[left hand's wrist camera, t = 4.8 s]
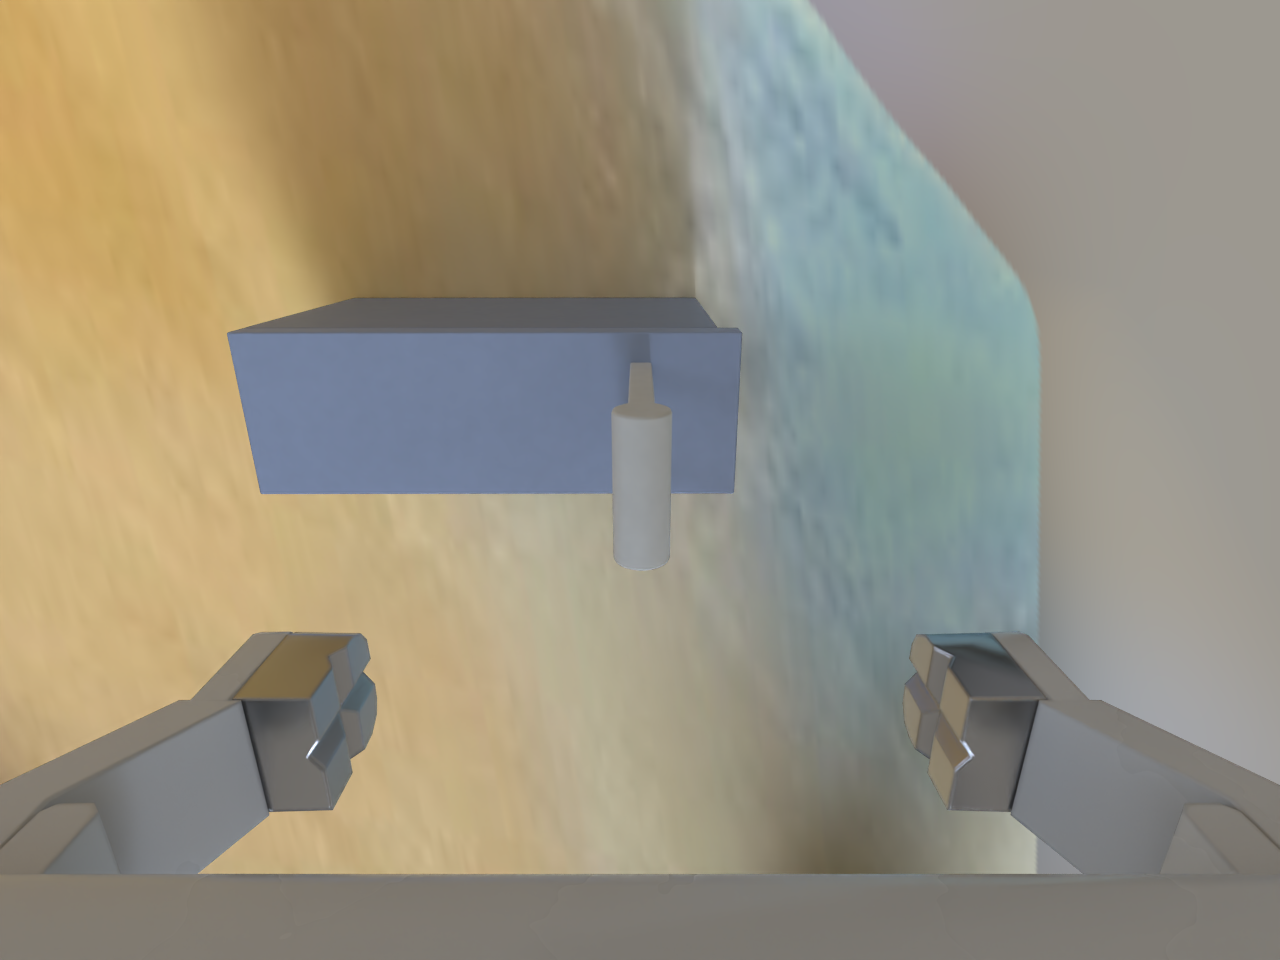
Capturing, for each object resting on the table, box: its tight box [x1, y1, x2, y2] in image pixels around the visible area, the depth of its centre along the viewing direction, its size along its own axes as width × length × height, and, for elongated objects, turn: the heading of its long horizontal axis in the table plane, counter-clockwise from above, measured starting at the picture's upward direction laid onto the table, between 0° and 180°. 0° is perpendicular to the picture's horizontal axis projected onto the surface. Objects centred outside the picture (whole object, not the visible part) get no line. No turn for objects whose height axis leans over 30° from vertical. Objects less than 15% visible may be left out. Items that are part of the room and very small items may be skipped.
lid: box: [227, 328, 742, 570], centre depth 20 cm, size 17×6×8 cm, turn 90°
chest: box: [246, 298, 717, 328], centre depth 29 cm, size 16×6×10 cm, turn 90°
